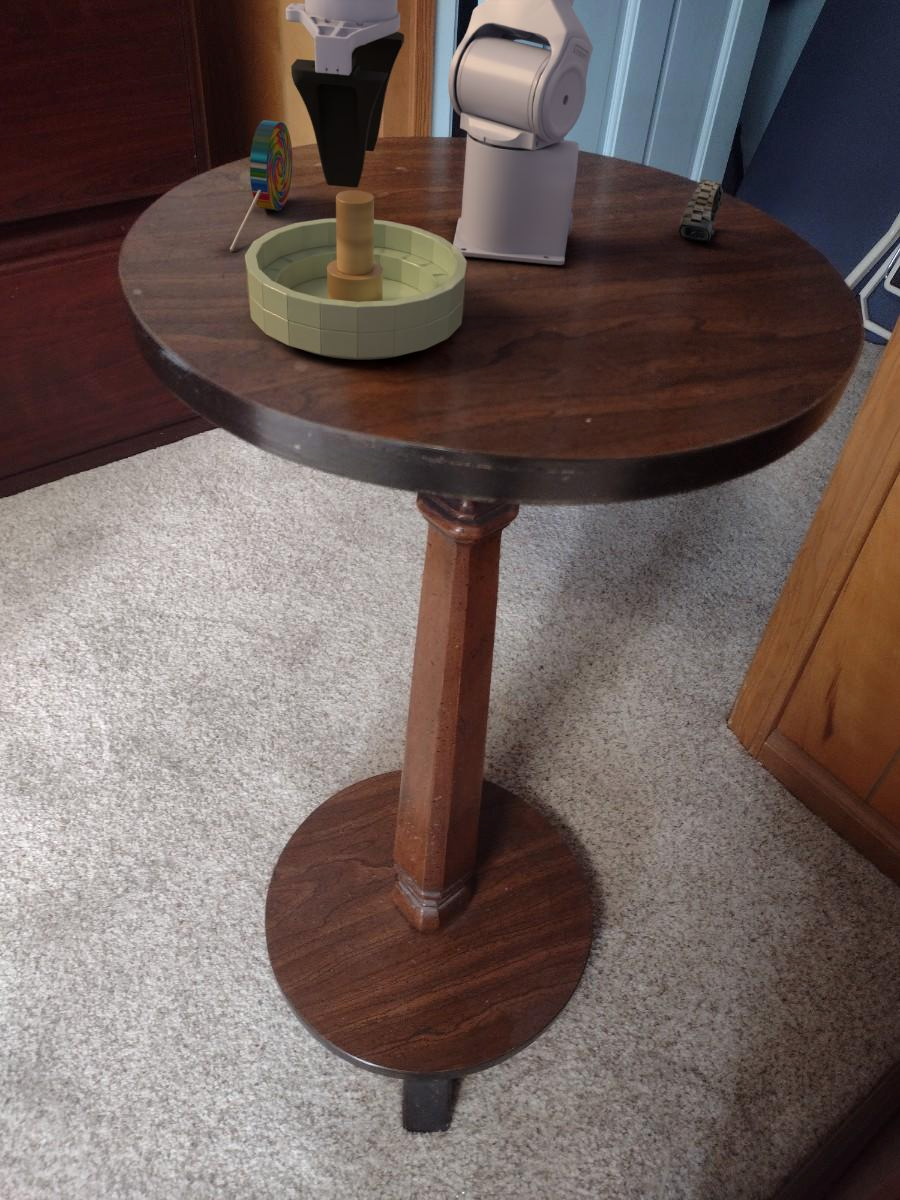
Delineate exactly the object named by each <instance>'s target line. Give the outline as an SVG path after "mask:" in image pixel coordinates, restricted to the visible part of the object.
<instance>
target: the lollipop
mask: <svg viewBox="0 0 900 1200" xmlns="http://www.w3.org/2000/svg"><path fill="white" fill-rule="evenodd" d="M292 146H293V145H292V138H291V135H290V131H289V129H288V127H287V125H286V124H285V123H284V122H282V121H276V120H275V121H274V120H266V119H264V120H262V121H260V123H259V124H258V125H257V127H256V129H255V132H254V134H253V138H252V143H251V149H250V156H249V180H250V187H251V192H252V198H253V201H252V203H251V205H250V207H249V209H248V211H247V213H246V215H245V217H244V219H243V221H242V223H241V225H240V227H239V229H238V231H237V233H236V235H235V237H234V240H233V241H232V244H231V245H230V248H229V252H233V251H234V249H235V247H236V245H237V243H238V240H239V239H240V237H241V235H242V232H243V230H244V228H245V226H246V225H247V222H248V220H249V218H250V216H251V214H252V211H253V210H254V208H255V205H256V206H257V207H259V209H263V210H271V211H281V210H282V209H283V208H284V206H285V205H286V202H287V200H288V197H289V194H290V191H291V185H292V177H293V164H294V163H293V159H294V158H293V147H292Z"/></svg>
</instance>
